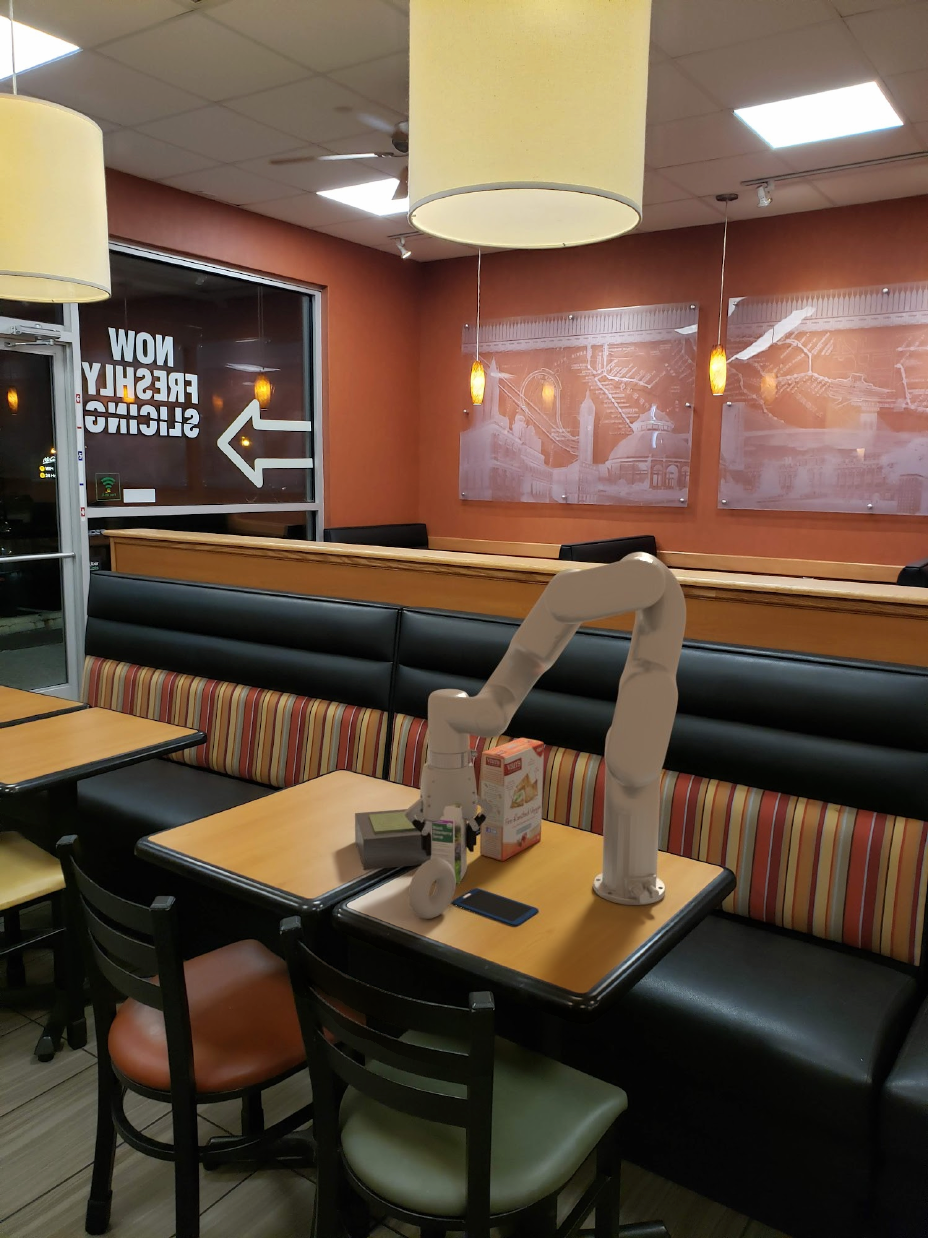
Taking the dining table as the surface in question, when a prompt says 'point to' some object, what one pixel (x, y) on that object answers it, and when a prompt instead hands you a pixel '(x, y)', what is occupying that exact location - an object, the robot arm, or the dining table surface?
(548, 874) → the dining table surface
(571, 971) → the dining table surface
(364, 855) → the stand
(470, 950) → the dining table surface
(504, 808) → the cracker box
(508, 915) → the cell phone
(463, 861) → the syrup box
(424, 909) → the donut
